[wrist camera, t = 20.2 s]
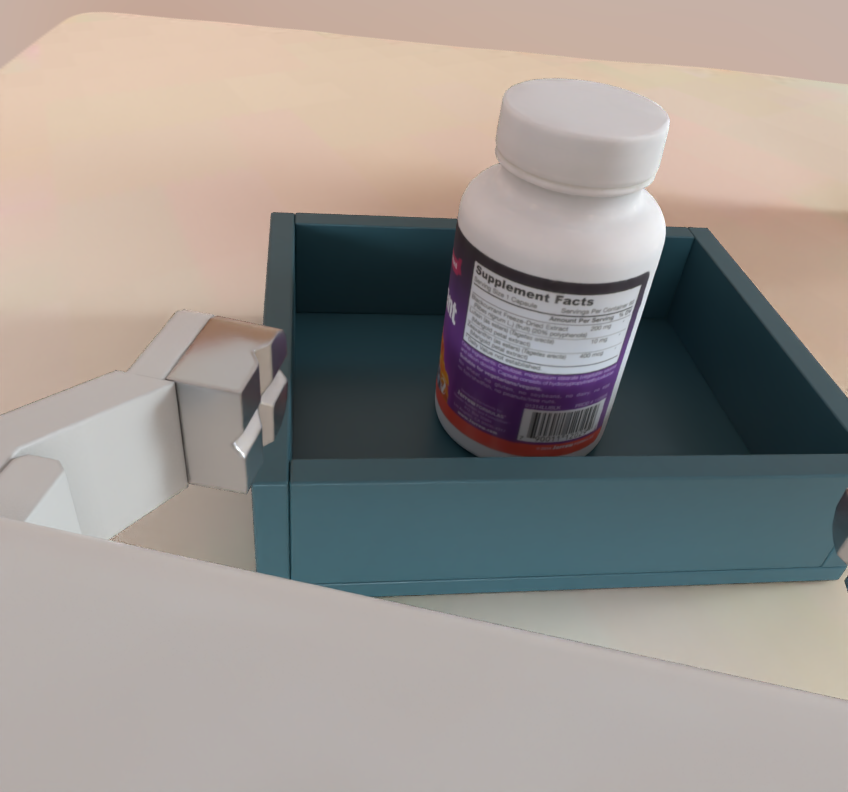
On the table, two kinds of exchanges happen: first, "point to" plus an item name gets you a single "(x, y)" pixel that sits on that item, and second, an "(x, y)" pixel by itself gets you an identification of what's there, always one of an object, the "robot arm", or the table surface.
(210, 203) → the table surface
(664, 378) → the tote
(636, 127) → the pill bottle
